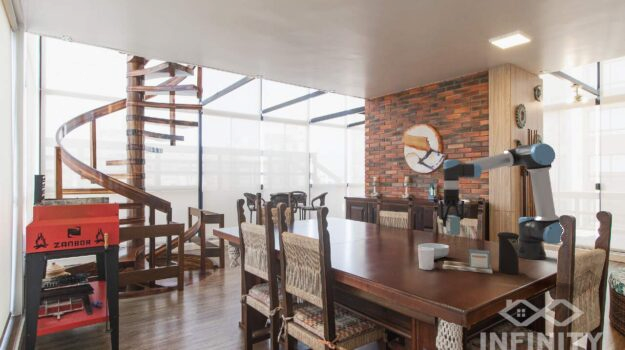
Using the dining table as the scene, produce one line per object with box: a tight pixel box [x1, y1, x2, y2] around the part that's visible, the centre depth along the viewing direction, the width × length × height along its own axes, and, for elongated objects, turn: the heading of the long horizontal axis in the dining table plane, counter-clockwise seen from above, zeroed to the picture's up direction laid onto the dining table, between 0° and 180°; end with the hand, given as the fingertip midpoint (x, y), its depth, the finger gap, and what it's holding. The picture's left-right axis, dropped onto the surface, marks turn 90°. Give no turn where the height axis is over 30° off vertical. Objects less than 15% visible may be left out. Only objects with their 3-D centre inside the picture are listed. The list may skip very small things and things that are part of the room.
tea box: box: [442, 214, 461, 236], centre depth 184 cm, size 5×9×9 cm, turn 4°
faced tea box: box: [468, 248, 491, 269], centre depth 171 cm, size 5×9×9 cm, turn 65°
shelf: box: [442, 260, 493, 274], centre depth 173 cm, size 22×10×2 cm, turn 65°
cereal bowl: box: [417, 242, 450, 260], centre depth 201 cm, size 17×17×7 cm
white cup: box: [417, 247, 435, 271], centre depth 178 cm, size 8×8×10 cm
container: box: [497, 231, 520, 276], centre depth 166 cm, size 9×9×20 cm
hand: (451, 232), depth 184 cm, fingers closed on tea box, 5 cm apart
